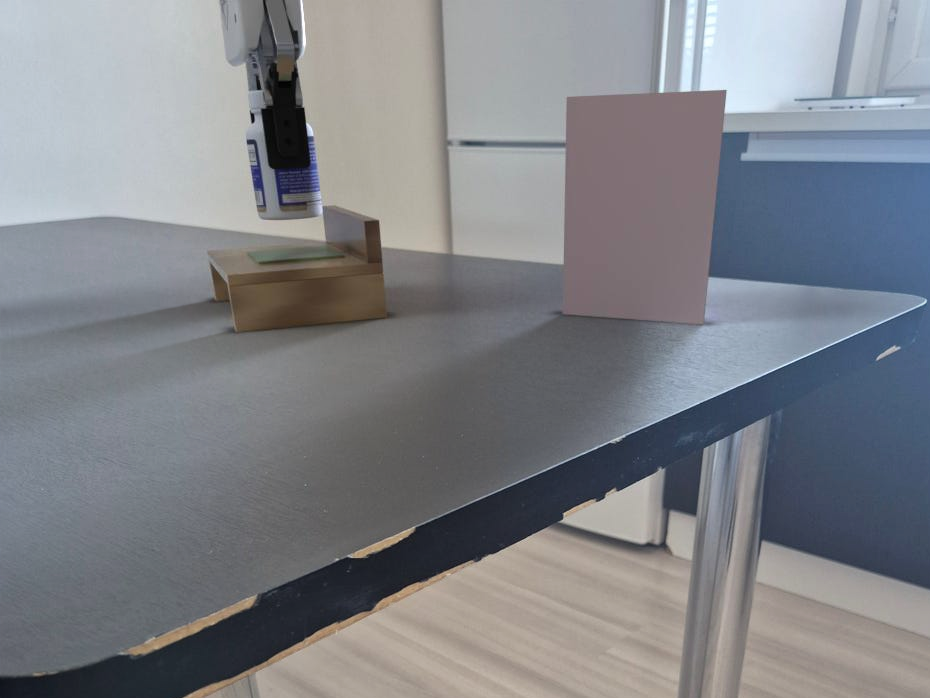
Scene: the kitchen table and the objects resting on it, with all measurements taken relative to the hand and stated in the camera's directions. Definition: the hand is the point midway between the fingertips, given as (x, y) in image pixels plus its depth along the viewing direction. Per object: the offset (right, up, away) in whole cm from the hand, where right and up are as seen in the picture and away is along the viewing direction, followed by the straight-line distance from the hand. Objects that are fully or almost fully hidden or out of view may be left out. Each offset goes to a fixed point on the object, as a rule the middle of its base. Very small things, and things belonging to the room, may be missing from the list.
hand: (283, 164), depth 70 cm
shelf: (0, -10, +6) cm, 11 cm away
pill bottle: (0, -3, +2) cm, 4 cm away
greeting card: (+27, -13, -2) cm, 30 cm away
